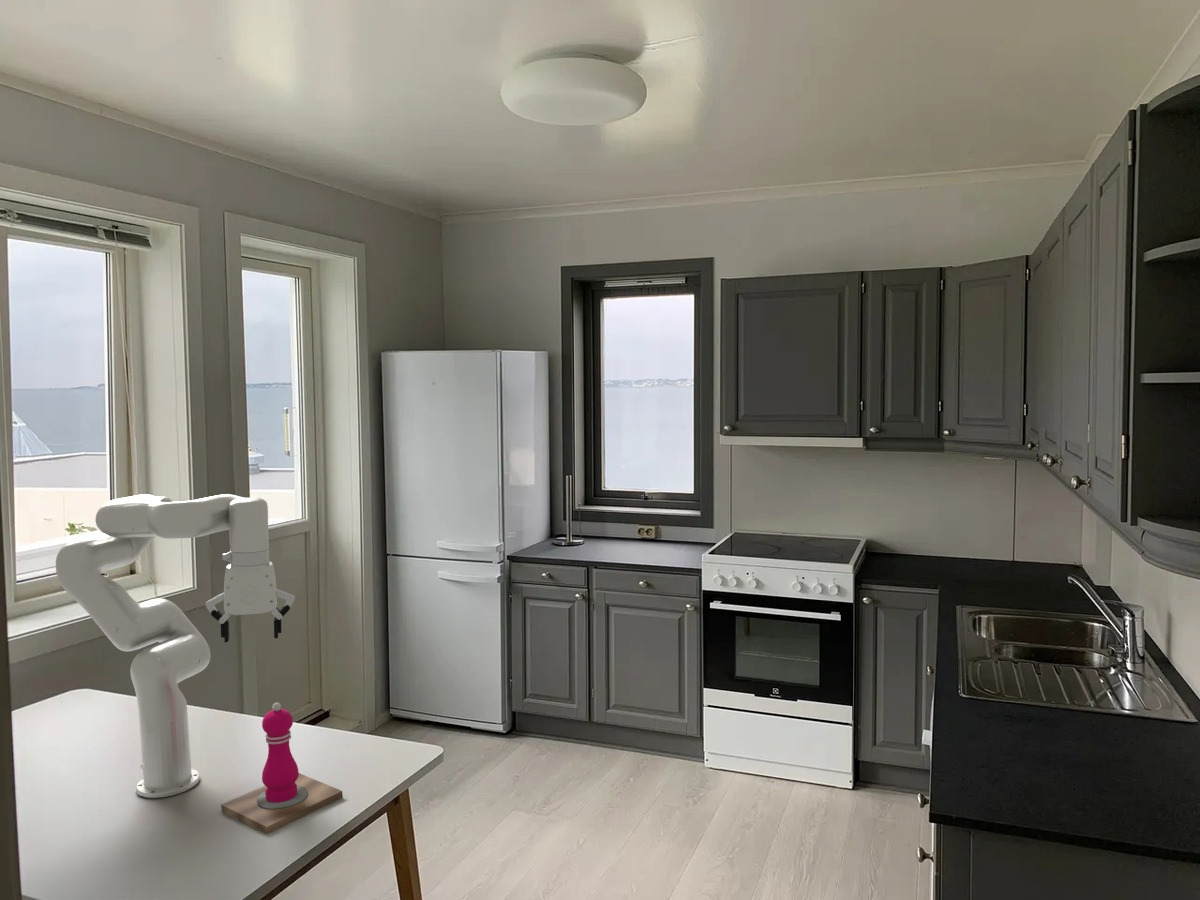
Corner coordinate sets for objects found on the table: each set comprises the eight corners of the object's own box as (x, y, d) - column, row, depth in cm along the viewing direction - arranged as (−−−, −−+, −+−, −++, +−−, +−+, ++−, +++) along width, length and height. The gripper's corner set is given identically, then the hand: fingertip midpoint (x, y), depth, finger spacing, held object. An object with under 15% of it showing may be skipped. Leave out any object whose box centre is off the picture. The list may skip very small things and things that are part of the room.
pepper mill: (288, 805, 184) (282, 710, 182) (256, 802, 185) (250, 708, 183) (306, 788, 191) (301, 697, 189) (275, 786, 192) (270, 695, 190)
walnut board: (221, 811, 186) (221, 802, 185) (296, 778, 200) (296, 770, 200) (267, 834, 176) (266, 824, 176) (342, 797, 191) (342, 789, 190)
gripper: (202, 564, 180) (204, 647, 182) (293, 559, 185) (295, 640, 187) (206, 556, 187) (208, 636, 189) (294, 551, 192) (295, 630, 194)
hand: (251, 638), depth 188 cm, fingers open, 9 cm apart
